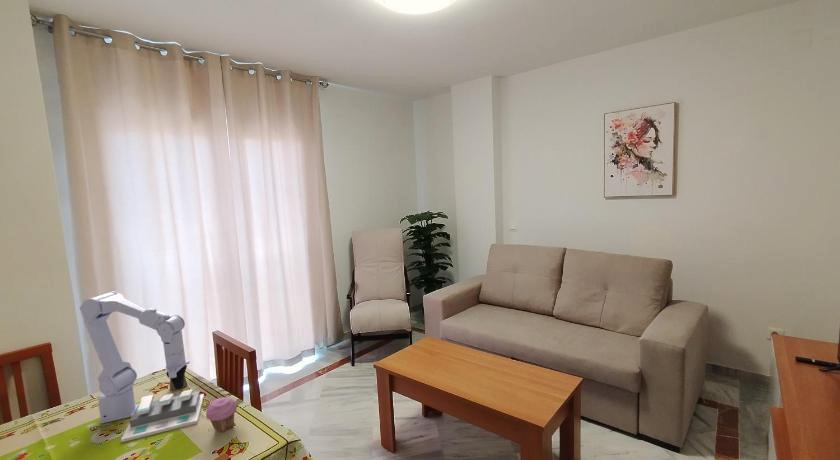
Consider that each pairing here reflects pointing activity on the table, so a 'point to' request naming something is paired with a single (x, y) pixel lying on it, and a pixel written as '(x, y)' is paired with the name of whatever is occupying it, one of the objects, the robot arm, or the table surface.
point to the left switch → (145, 404)
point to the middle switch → (166, 400)
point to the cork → (174, 387)
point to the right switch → (185, 395)
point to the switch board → (170, 425)
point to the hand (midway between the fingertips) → (179, 388)
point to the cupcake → (221, 413)
